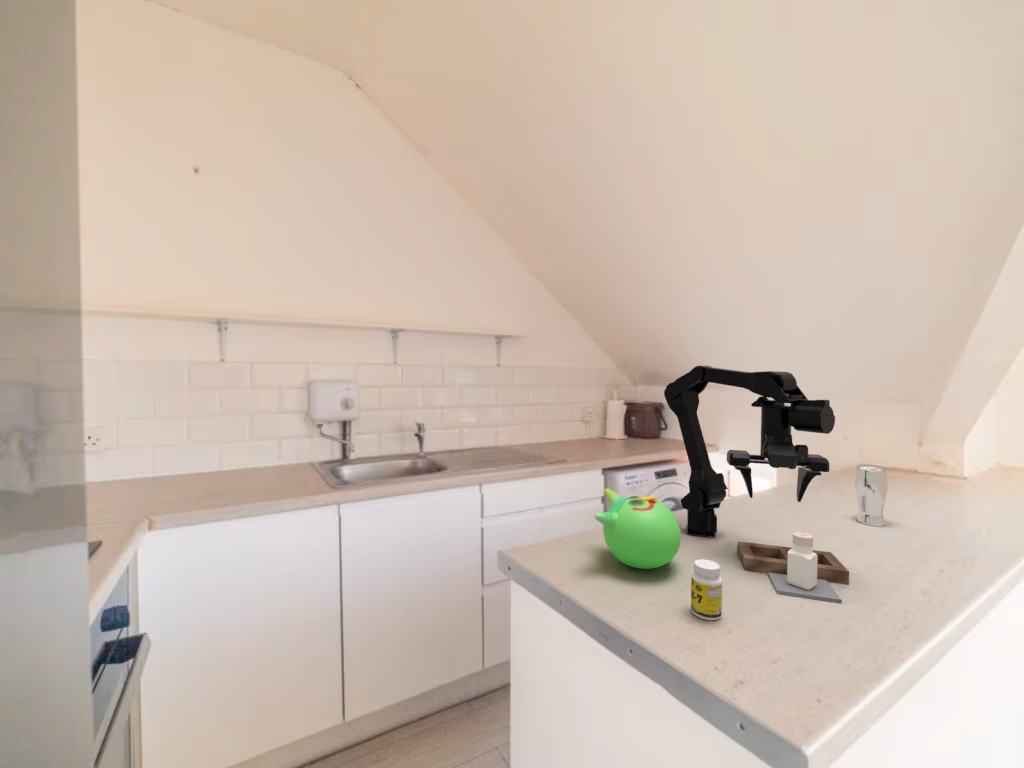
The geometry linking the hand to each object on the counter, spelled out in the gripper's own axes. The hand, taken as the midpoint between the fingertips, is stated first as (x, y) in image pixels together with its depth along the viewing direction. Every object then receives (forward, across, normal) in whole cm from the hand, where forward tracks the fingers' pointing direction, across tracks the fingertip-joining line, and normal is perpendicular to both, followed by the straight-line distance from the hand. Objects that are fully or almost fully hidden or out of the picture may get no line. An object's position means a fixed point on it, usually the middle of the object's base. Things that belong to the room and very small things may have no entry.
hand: (774, 499), depth 97 cm
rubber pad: (+13, +2, -14) cm, 19 cm away
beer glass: (+13, +31, +37) cm, 50 cm away
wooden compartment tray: (+13, +2, -4) cm, 14 cm away
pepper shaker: (+13, +2, -14) cm, 19 cm away
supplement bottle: (+13, -16, -30) cm, 36 cm away
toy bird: (+13, -28, -13) cm, 34 cm away
